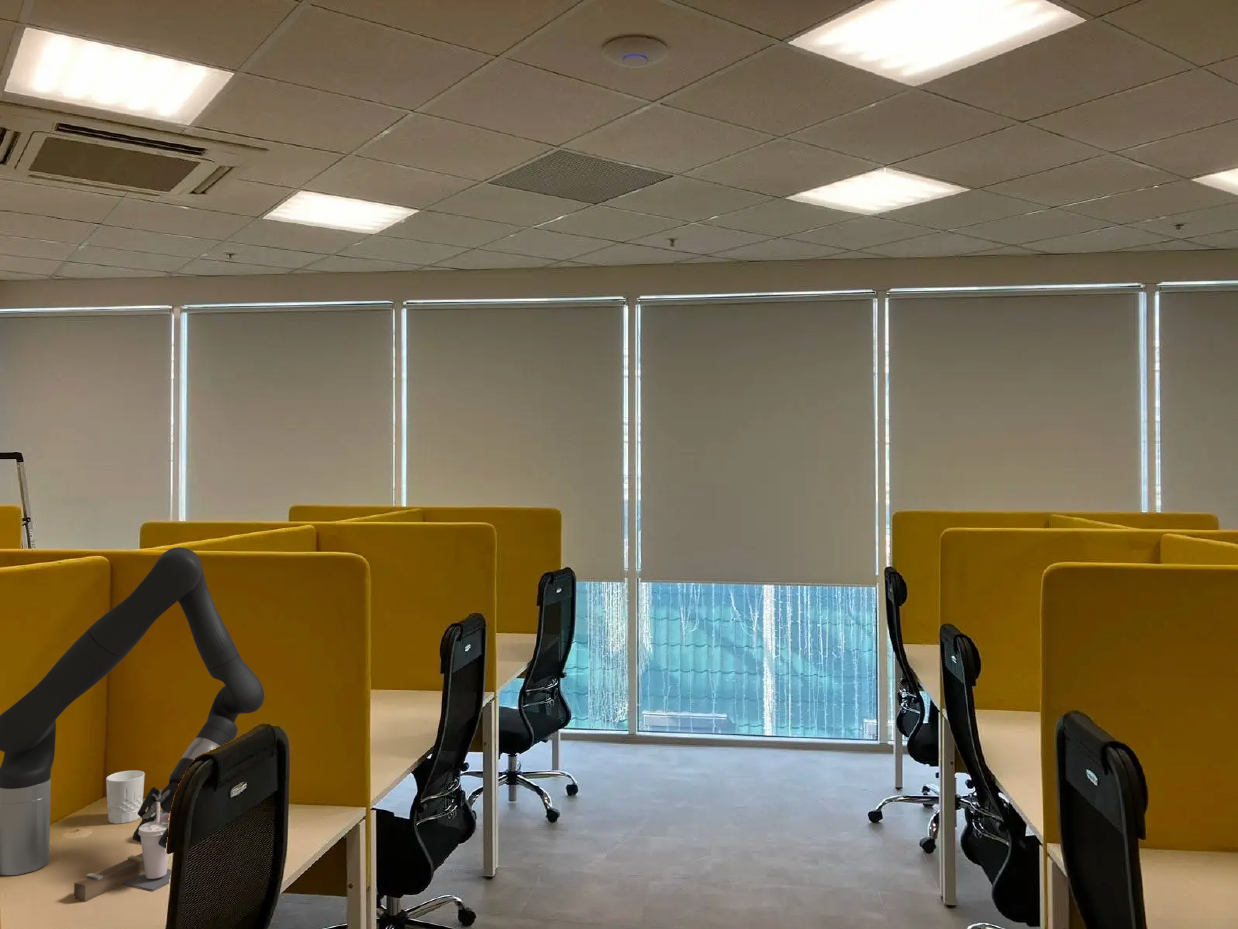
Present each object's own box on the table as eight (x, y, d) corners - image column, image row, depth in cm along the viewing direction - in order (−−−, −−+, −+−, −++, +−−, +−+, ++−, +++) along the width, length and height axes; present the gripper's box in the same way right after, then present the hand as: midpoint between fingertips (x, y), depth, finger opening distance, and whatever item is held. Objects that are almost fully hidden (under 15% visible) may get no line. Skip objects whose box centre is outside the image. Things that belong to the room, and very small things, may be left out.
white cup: (110, 814, 214) (110, 772, 214) (147, 811, 216) (147, 769, 216) (101, 826, 206) (102, 782, 206) (140, 823, 208) (140, 779, 209)
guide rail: (73, 898, 170) (73, 880, 170) (146, 865, 185) (146, 849, 185) (85, 901, 169) (85, 883, 169) (157, 868, 184) (158, 851, 184)
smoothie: (180, 868, 182) (181, 798, 182) (161, 882, 176) (162, 810, 176) (150, 867, 183) (151, 797, 183) (130, 881, 176) (131, 809, 176)
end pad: (122, 884, 177) (122, 882, 177) (157, 868, 184) (157, 866, 184) (152, 891, 174) (152, 889, 174) (186, 874, 181) (187, 873, 181)
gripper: (162, 752, 189) (111, 829, 178) (214, 760, 184) (165, 840, 172) (182, 770, 194) (134, 846, 183) (234, 778, 188) (187, 857, 177)
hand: (149, 843), depth 178 cm, fingers closed on smoothie, 6 cm apart
